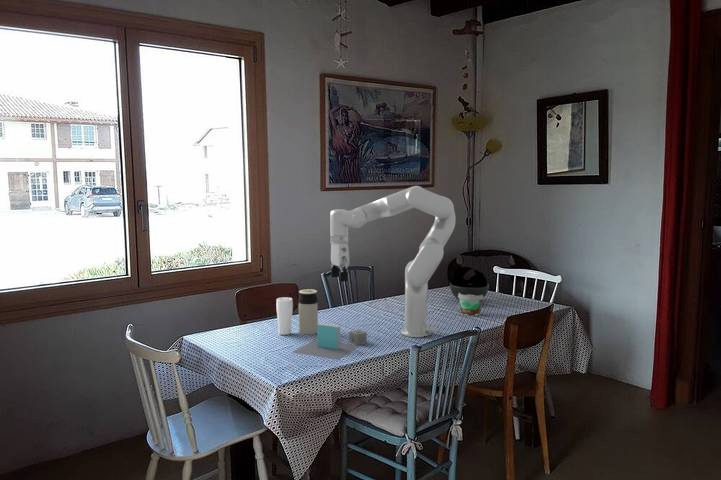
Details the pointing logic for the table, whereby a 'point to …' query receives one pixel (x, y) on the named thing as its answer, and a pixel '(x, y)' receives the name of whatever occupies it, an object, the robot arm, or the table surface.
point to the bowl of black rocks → (468, 283)
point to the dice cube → (357, 337)
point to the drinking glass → (284, 315)
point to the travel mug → (308, 311)
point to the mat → (325, 350)
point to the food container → (470, 303)
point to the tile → (328, 336)
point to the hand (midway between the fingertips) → (339, 279)
